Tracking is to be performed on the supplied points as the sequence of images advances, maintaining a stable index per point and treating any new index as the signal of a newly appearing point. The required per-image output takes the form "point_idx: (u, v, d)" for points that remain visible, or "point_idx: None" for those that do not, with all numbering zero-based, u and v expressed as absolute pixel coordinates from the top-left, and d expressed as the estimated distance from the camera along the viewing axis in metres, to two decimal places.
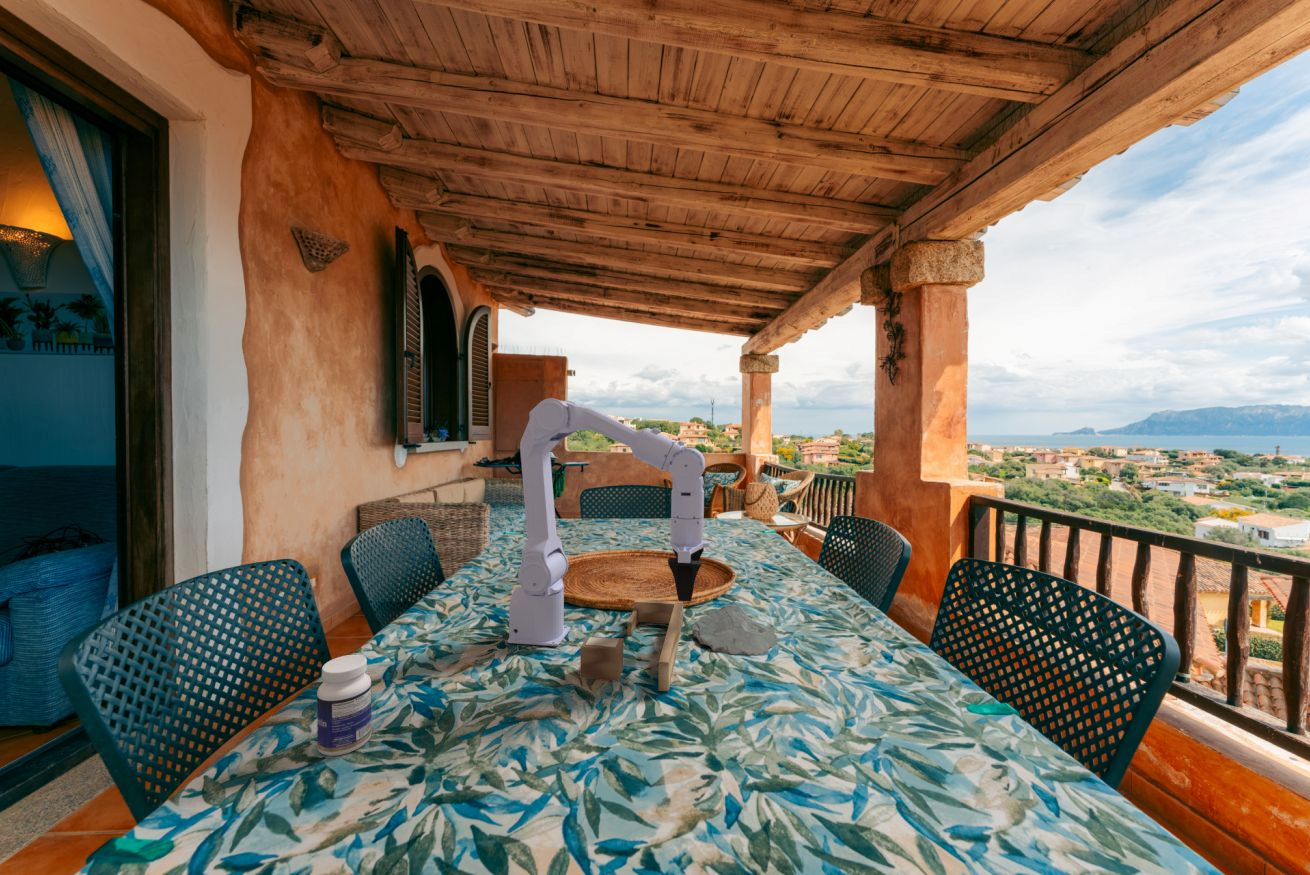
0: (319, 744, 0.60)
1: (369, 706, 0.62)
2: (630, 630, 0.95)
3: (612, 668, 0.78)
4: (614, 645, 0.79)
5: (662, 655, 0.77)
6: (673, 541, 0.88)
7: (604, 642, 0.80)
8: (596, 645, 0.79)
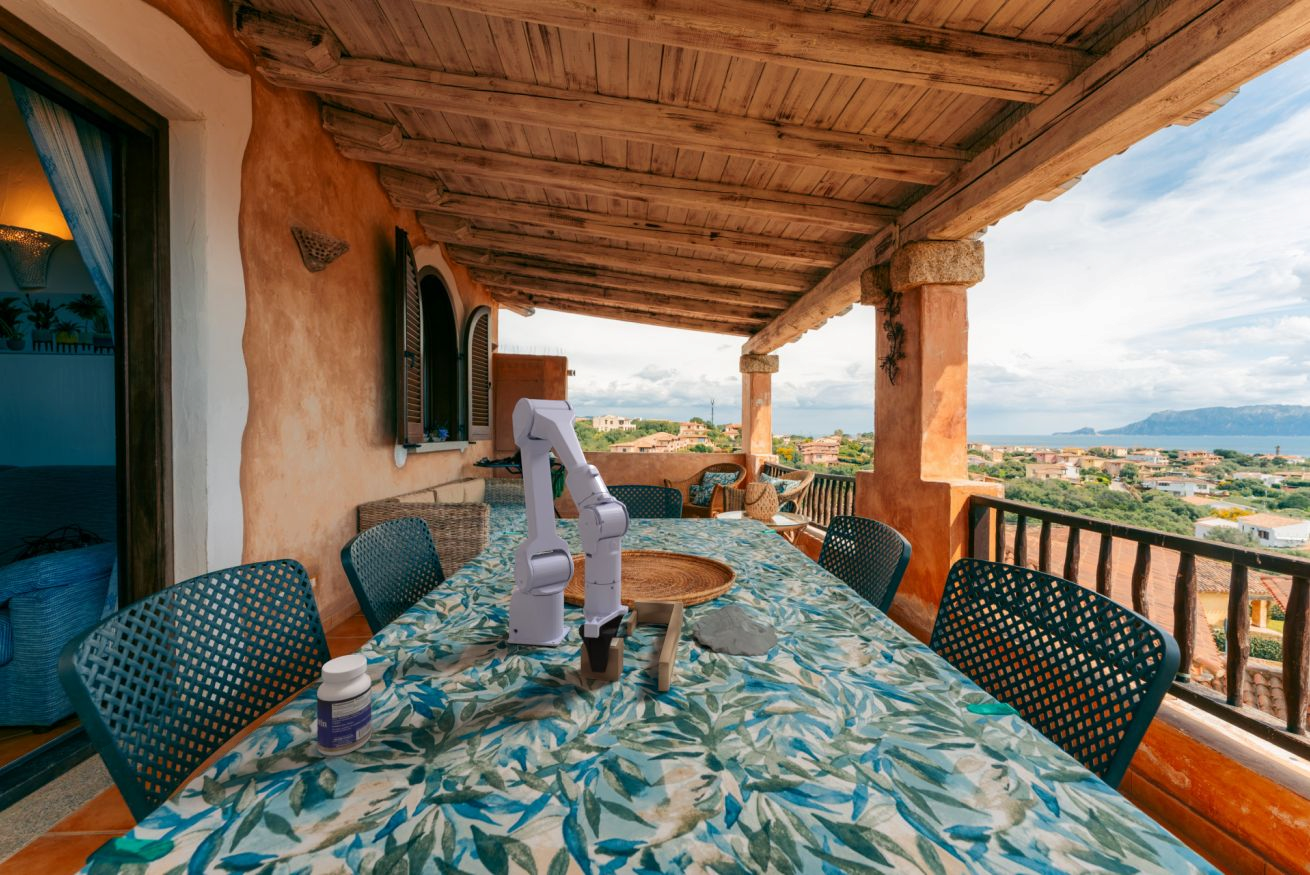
0: (319, 744, 0.60)
1: (369, 706, 0.62)
2: (630, 630, 0.95)
3: (612, 667, 0.78)
4: (614, 644, 0.79)
5: (662, 655, 0.77)
6: (586, 608, 0.79)
7: None
8: None
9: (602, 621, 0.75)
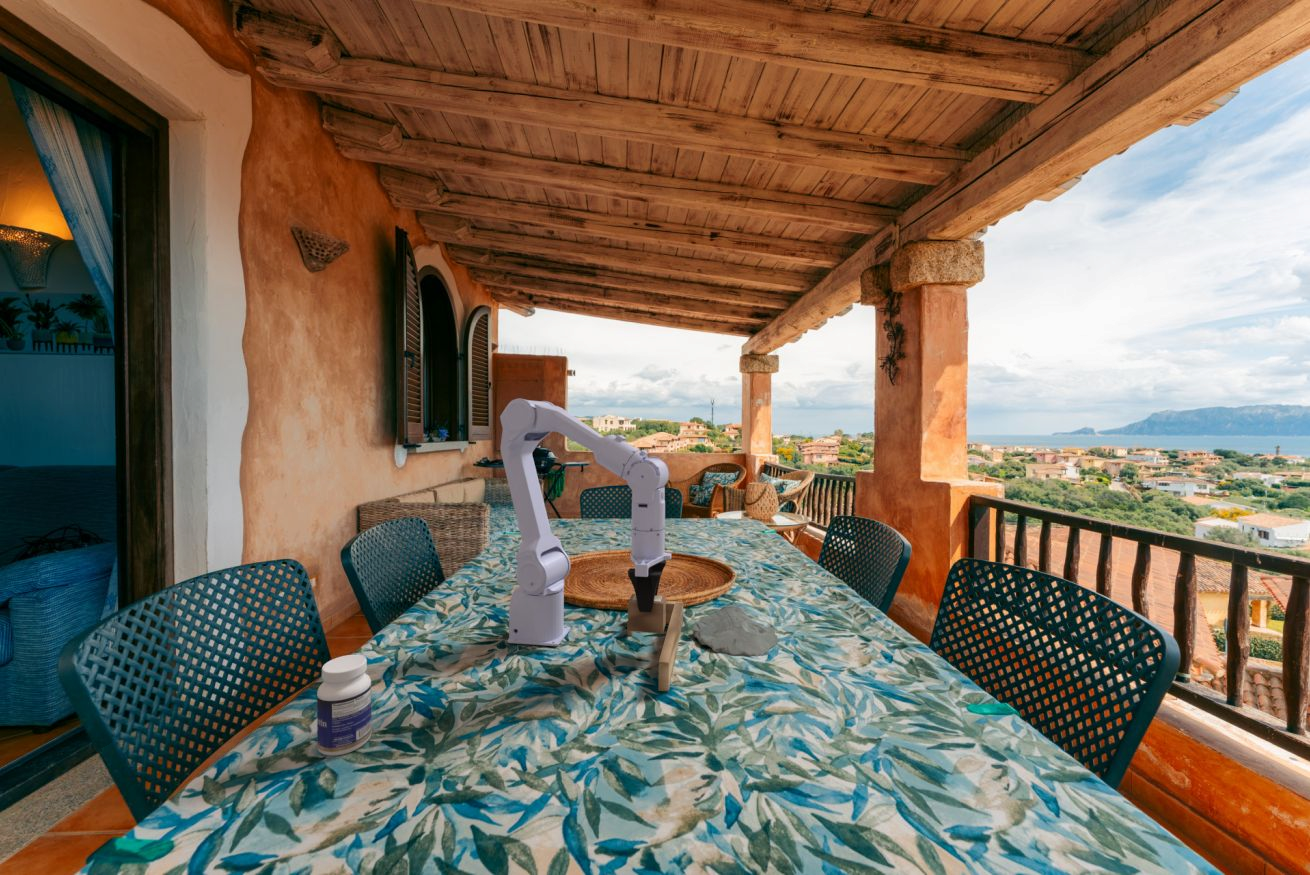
0: (319, 744, 0.60)
1: (369, 706, 0.62)
2: None
3: (657, 621, 0.85)
4: (658, 600, 0.86)
5: (662, 655, 0.77)
6: (633, 554, 0.86)
7: None
8: None
9: (650, 563, 0.82)
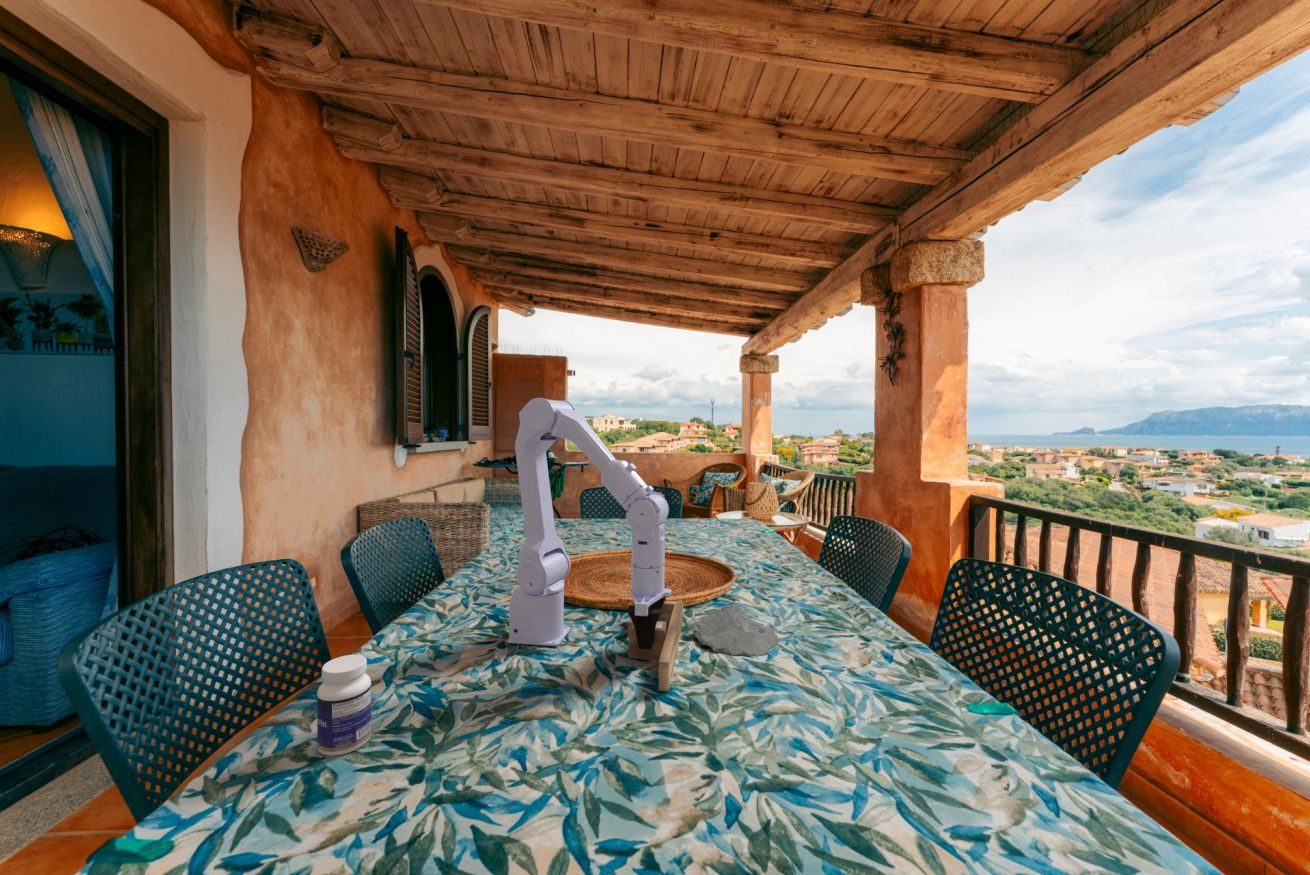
0: (319, 744, 0.60)
1: (369, 706, 0.62)
2: None
3: (658, 648, 0.85)
4: (659, 626, 0.86)
5: (662, 655, 0.77)
6: (633, 590, 0.86)
7: None
8: None
9: (650, 601, 0.82)
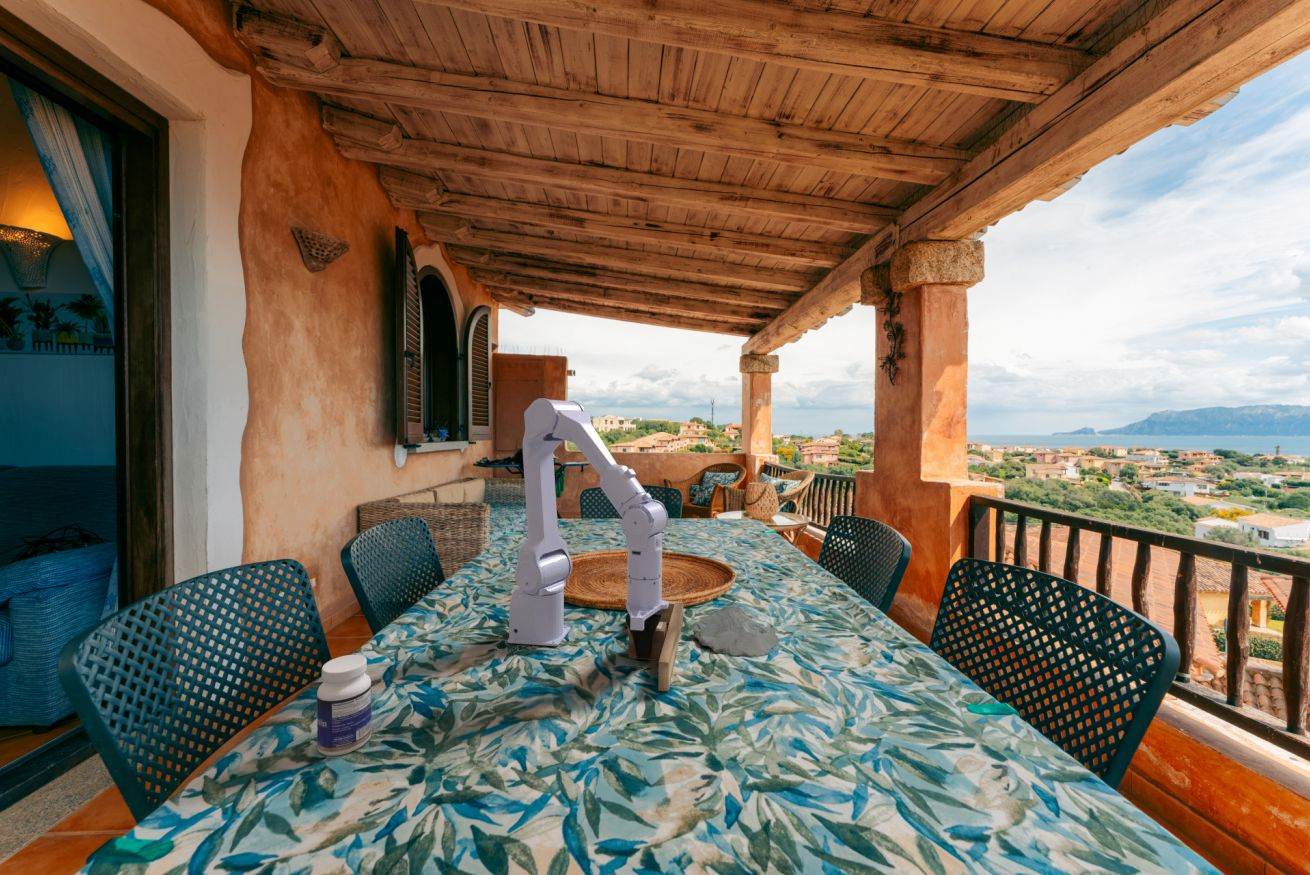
0: (319, 744, 0.60)
1: (369, 706, 0.62)
2: None
3: (658, 648, 0.85)
4: (659, 627, 0.86)
5: (662, 655, 0.77)
6: (629, 603, 0.82)
7: None
8: None
9: (646, 615, 0.78)
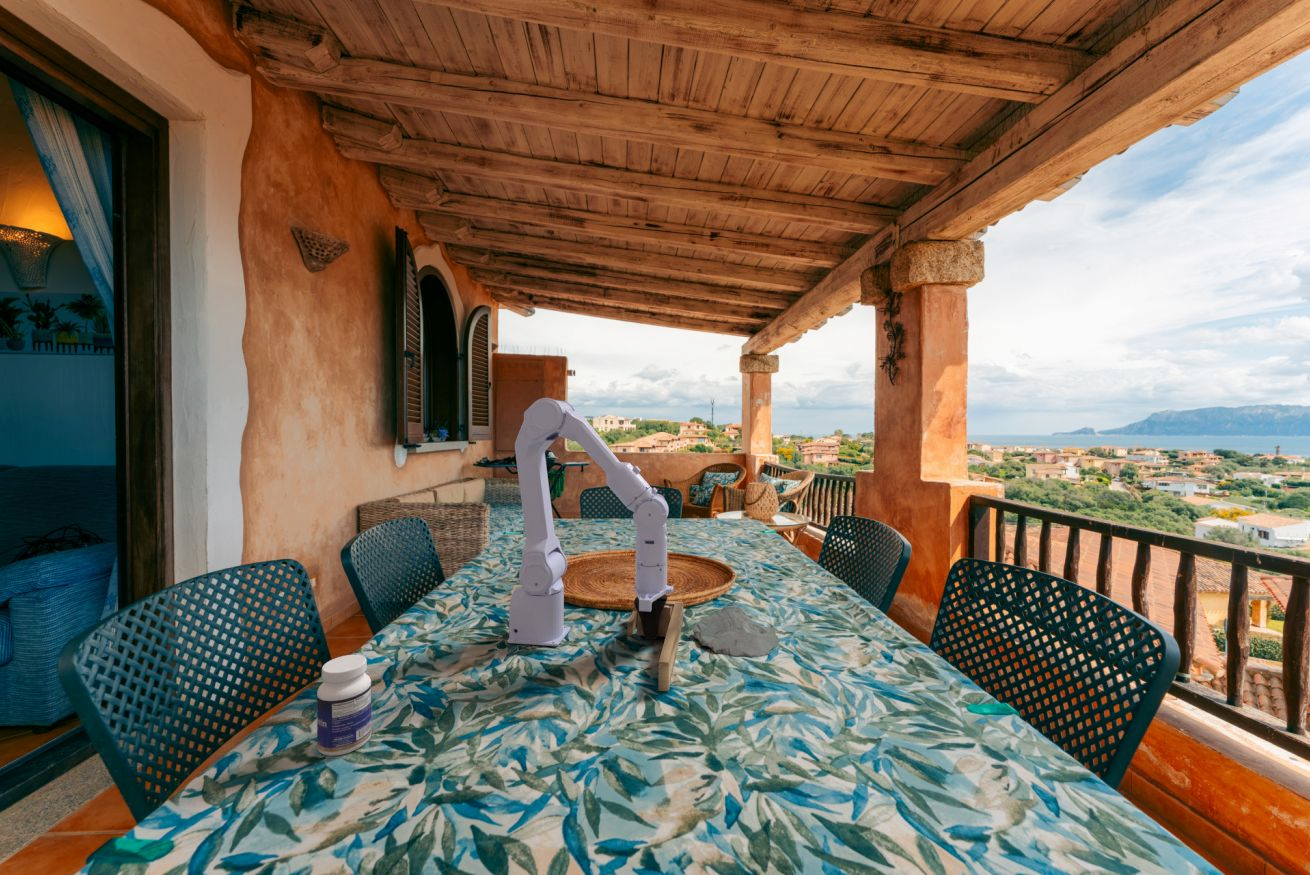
0: (319, 744, 0.60)
1: (369, 706, 0.62)
2: (630, 630, 0.95)
3: (664, 625, 0.93)
4: (666, 606, 0.94)
5: (662, 655, 0.77)
6: (637, 587, 0.90)
7: None
8: None
9: (653, 598, 0.86)
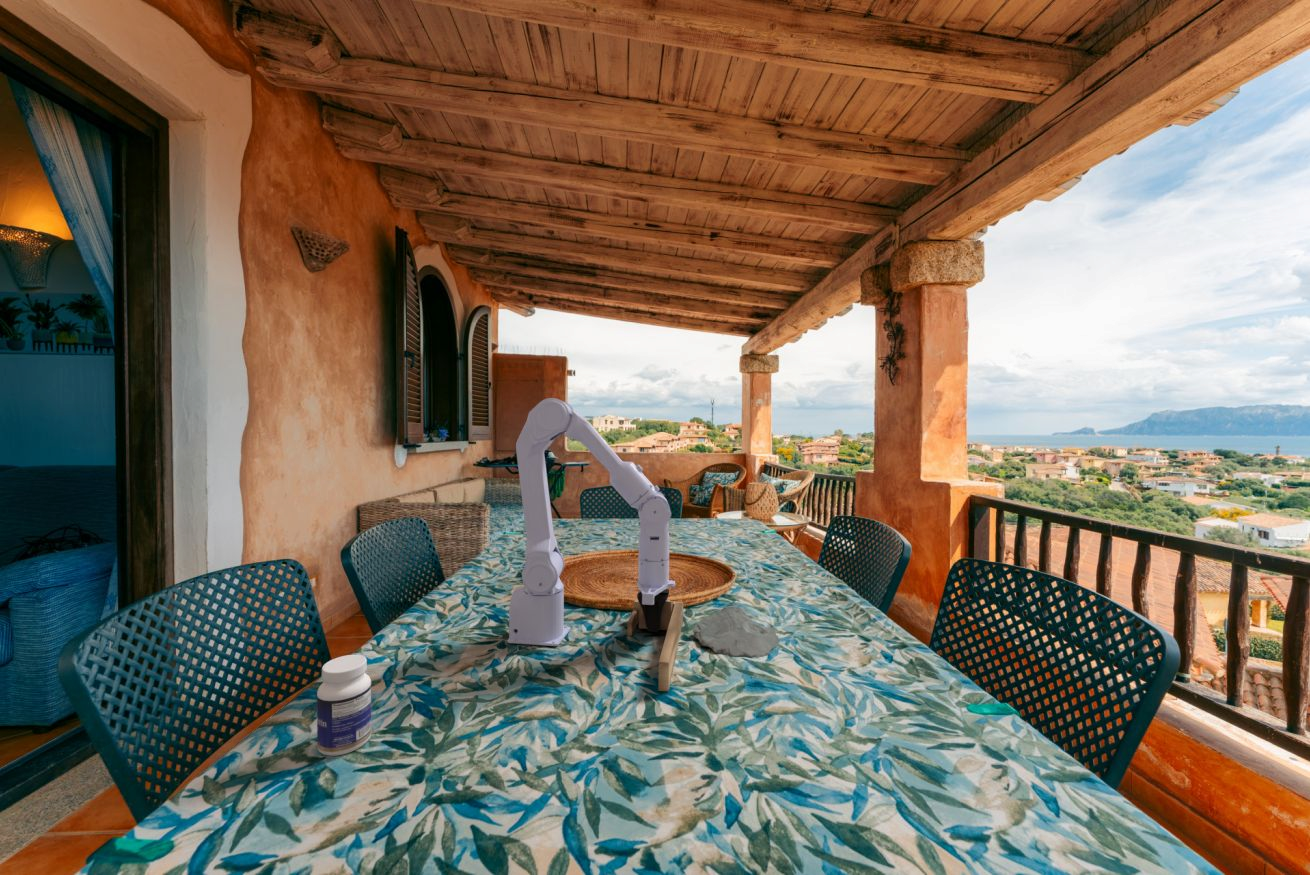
0: (319, 744, 0.60)
1: (369, 706, 0.62)
2: (630, 630, 0.95)
3: (665, 618, 0.96)
4: (667, 600, 0.98)
5: (662, 655, 0.77)
6: (640, 582, 0.93)
7: None
8: None
9: (656, 592, 0.89)
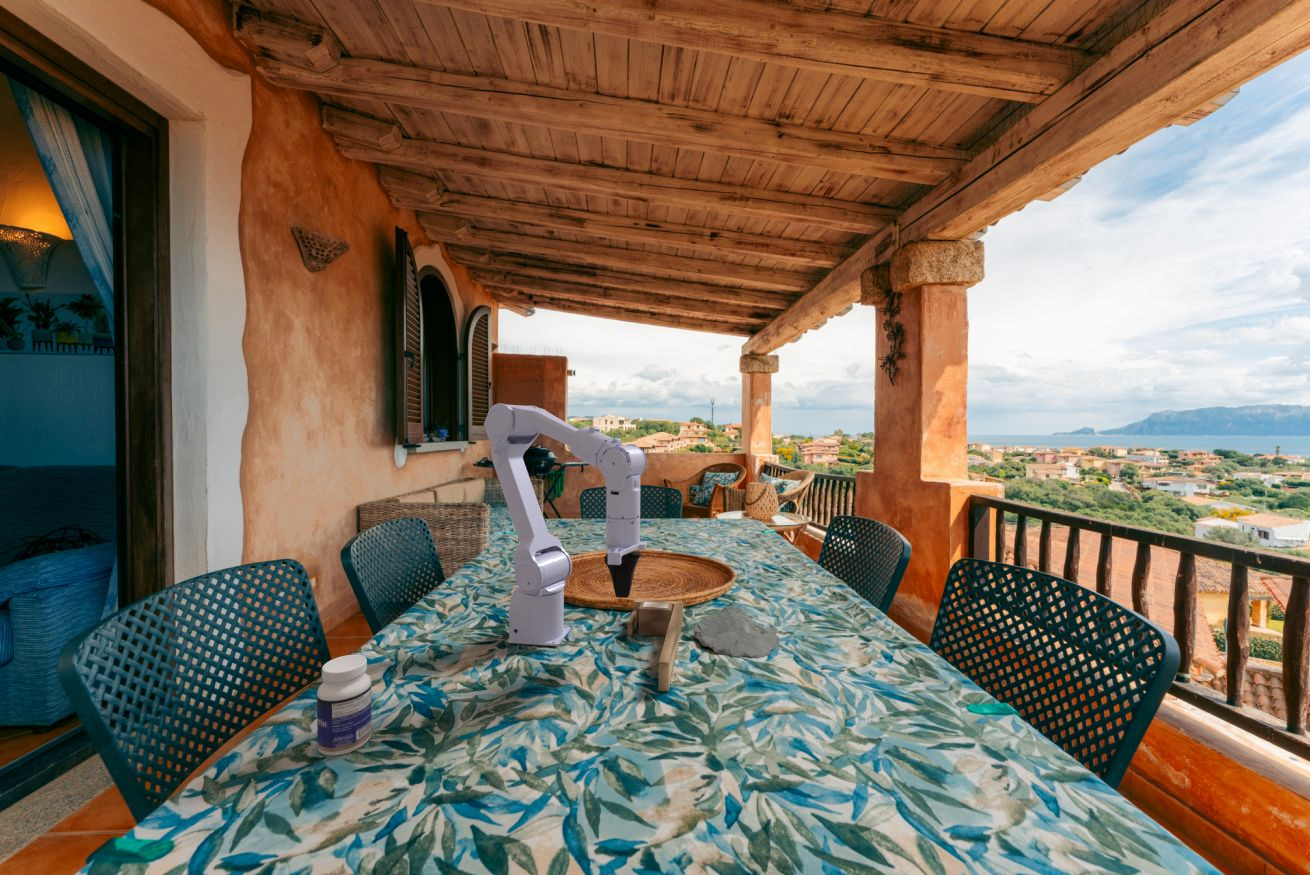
0: (319, 744, 0.60)
1: (369, 706, 0.62)
2: (630, 630, 0.95)
3: (665, 625, 0.95)
4: (666, 607, 0.96)
5: (662, 655, 0.77)
6: (607, 542, 0.84)
7: (657, 605, 0.97)
8: (651, 607, 0.96)
9: (624, 551, 0.80)
